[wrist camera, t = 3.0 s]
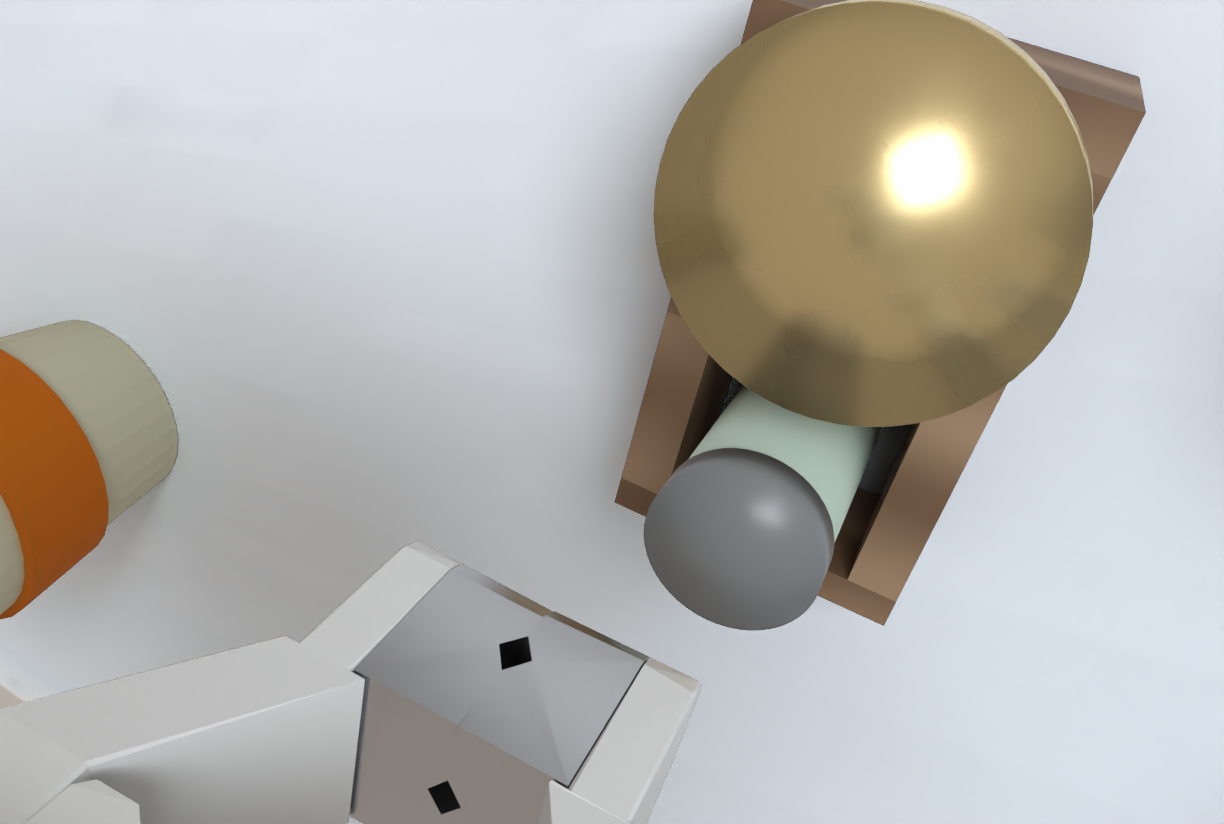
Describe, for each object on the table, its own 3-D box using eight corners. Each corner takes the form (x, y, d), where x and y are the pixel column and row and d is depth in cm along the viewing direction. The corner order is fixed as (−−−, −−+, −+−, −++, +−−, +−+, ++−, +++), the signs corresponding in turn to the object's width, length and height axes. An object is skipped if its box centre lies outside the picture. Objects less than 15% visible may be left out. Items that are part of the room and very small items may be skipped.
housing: (910, 537, 33) (883, 625, 29) (670, 433, 36) (614, 502, 32) (1139, 76, 25) (1145, 112, 21) (807, -23, 27) (755, -8, 23)
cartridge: (866, 471, 33) (788, 658, 25) (740, 418, 34) (626, 581, 26) (917, 354, 31) (850, 521, 23) (779, 301, 32) (668, 441, 24)
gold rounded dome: (999, 380, 27) (976, 487, 22) (698, 264, 29) (616, 338, 24) (1169, 43, 22) (1188, 86, 17) (792, -66, 24) (714, -55, 19)
